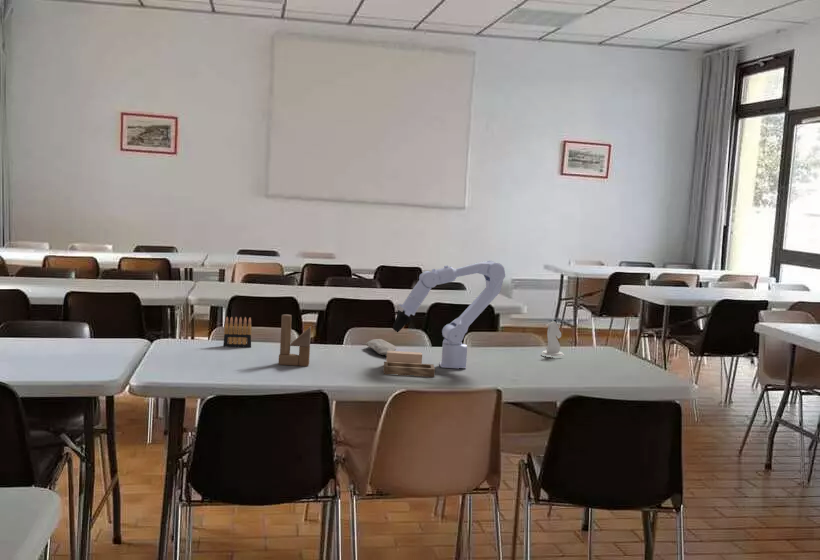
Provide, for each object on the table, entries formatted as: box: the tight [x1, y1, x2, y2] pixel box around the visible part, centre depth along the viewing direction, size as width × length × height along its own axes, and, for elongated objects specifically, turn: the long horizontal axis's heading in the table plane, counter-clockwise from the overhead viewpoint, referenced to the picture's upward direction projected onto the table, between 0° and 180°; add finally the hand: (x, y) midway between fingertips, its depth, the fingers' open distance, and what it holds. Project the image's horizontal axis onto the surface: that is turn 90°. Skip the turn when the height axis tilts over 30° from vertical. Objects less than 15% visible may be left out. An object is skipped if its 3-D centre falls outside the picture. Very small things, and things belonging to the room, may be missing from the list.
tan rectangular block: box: [385, 350, 423, 364], centre depth 301 cm, size 13×4×6 cm, turn 93°
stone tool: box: [365, 338, 397, 357], centre depth 325 cm, size 12×5×25 cm
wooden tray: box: [383, 361, 436, 378], centre depth 291 cm, size 18×8×3 cm, turn 92°
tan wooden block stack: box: [277, 313, 312, 367], centre depth 291 cm, size 4×11×18 cm, turn 92°
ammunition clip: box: [222, 316, 252, 349], centre depth 317 cm, size 11×2×12 cm, turn 100°
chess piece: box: [541, 320, 565, 356], centre depth 340 cm, size 10×10×15 cm
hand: (394, 330), depth 301 cm, fingers open, 7 cm apart
